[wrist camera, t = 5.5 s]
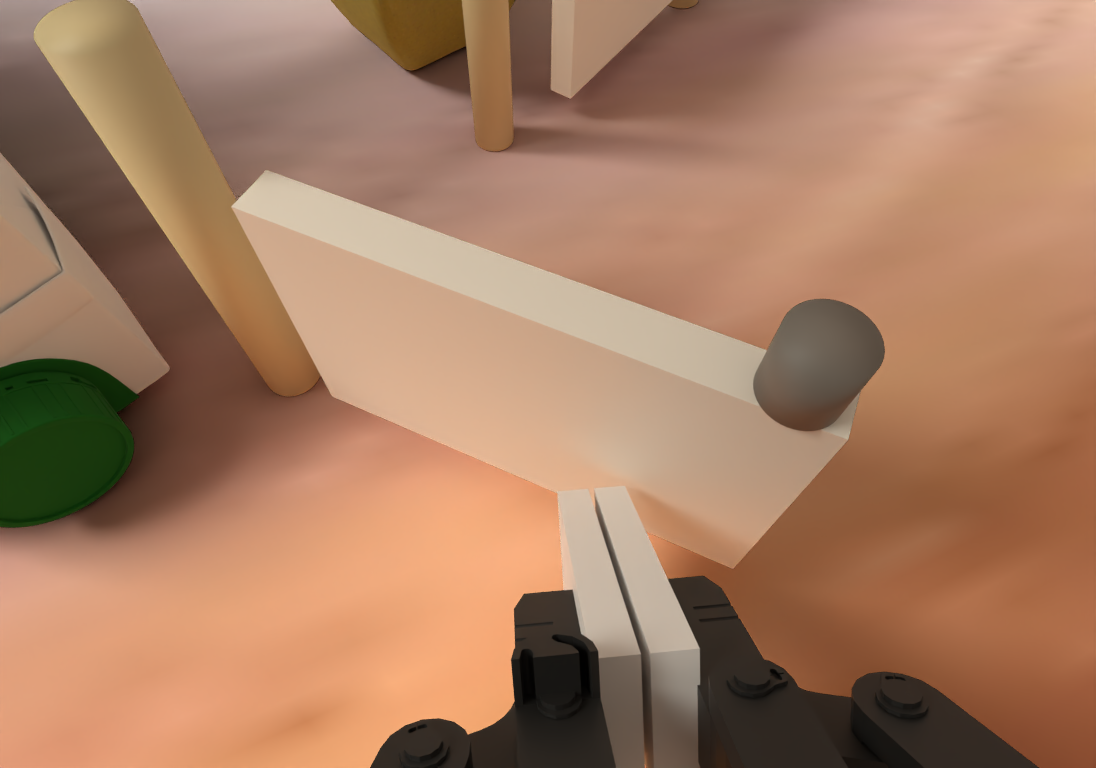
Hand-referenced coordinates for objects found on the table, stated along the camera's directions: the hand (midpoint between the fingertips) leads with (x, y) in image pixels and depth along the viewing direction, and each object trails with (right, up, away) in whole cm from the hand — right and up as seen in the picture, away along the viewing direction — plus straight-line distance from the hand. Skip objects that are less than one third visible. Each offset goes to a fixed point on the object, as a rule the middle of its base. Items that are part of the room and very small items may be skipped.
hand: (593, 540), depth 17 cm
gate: (-2, +2, +3) cm, 4 cm away
